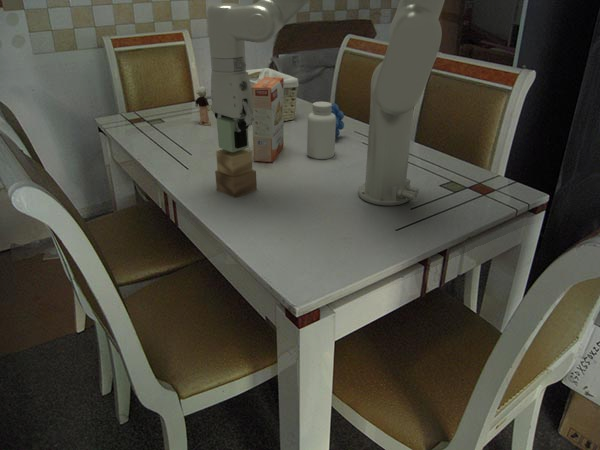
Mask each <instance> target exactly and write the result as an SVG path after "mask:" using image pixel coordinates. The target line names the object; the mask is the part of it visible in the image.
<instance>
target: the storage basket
mask: <svg viewBox="0 0 600 450" xmlns="http://www.w3.org/2000/svg"><path fill="white" fill-rule="evenodd" d="M246 72H248V75H249V79H250V84H251V90H252V86H254V85H255V84H256V83H258V82H259V81H260V80H262V79H263V78H264V77H280V78H283V79H284V85H283V87H284V95H283V108H284V122H287V121H292V120H294V119H295V118H296V111H297V110H296V109H297V95H298V89H299V88H298V87H299V79H298V78H297V77H295V76H292V75H290V74H287V73H284V72H280V71H278V70H275V69H272V68H269V67H265V68H258V69H257V68H255V69H246ZM251 79H256V80H251Z"/></svg>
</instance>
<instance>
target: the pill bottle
mask: <svg viewBox="0 0 600 450" xmlns="http://www.w3.org/2000/svg"><path fill="white" fill-rule="evenodd" d="M332 104H333V103H331V102H329V101H316V102H313V103H312V112H310V113H309V114H308V116H307V134H306V135H307V137H306V138H307V139H306V140H307V142H306V144H307V145H306V152H307V153H306V154H307V156H308V157H310V158H311V159H315V160H326V159H327V160H328V159H331V158H333V157H334V156H335V150H336V137H335V131H336V117H335V115H334V114H333V113H331V111H332V110H331V109H332Z"/></svg>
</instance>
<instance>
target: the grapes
mask: <svg viewBox="0 0 600 450" xmlns="http://www.w3.org/2000/svg"><path fill="white" fill-rule="evenodd" d="M331 104H332V109H331V110H332V111H331V113H333V114H334V115H335V117H336V131H335V138H338V137H339V136H340V130H344V127H345V123H344V121H343V120H344V118H345V114H344V111H342V110H340V109H339V108H340V107H339V105H338V104H336V103H331Z"/></svg>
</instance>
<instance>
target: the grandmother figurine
mask: <svg viewBox="0 0 600 450" xmlns="http://www.w3.org/2000/svg"><path fill="white" fill-rule="evenodd" d="M206 91H207V89H206V87H205V86H199V87H198V88H197V89H196V92H195V94H196V95H198V97H197V98H196V100H195V101H194V102H195V104H194V106H195V108H197V107H199V117H200V118H199V119H200V122H199V123H200V124H199V125H203V126H205V125H206V126H211V124H212V122H211V121H210V117H209V112H210V111H211V106H210V104H209V101H208V98H206V96H207V92H206Z"/></svg>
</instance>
